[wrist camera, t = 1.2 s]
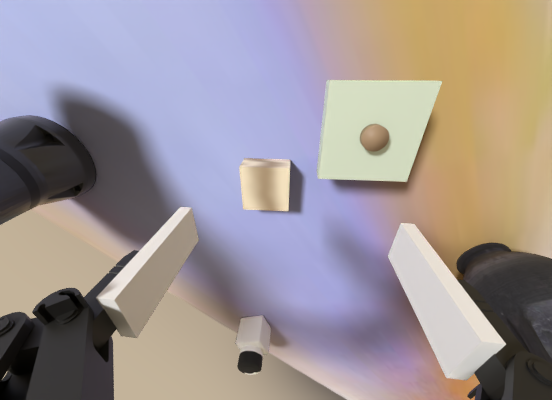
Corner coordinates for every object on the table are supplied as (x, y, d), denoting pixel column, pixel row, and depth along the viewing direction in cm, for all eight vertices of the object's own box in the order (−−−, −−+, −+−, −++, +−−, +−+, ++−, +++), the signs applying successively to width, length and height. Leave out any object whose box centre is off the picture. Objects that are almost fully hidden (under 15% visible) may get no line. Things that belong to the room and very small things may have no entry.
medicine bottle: (240, 317, 62) (229, 365, 52) (262, 314, 60) (256, 363, 50) (249, 330, 65) (241, 378, 55) (271, 328, 64) (267, 376, 53)
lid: (316, 171, 32) (319, 183, 28) (326, 79, 26) (331, 80, 22) (398, 174, 31) (411, 186, 28) (429, 80, 25) (450, 81, 22)
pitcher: (483, 294, 50) (688, 529, 24) (404, 271, 48) (534, 500, 22) (554, 241, 41) (997, 525, 15) (461, 211, 39) (787, 475, 13)
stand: (247, 198, 41) (243, 209, 37) (244, 158, 37) (239, 166, 33) (288, 199, 40) (288, 211, 37) (290, 159, 36) (290, 168, 33)
